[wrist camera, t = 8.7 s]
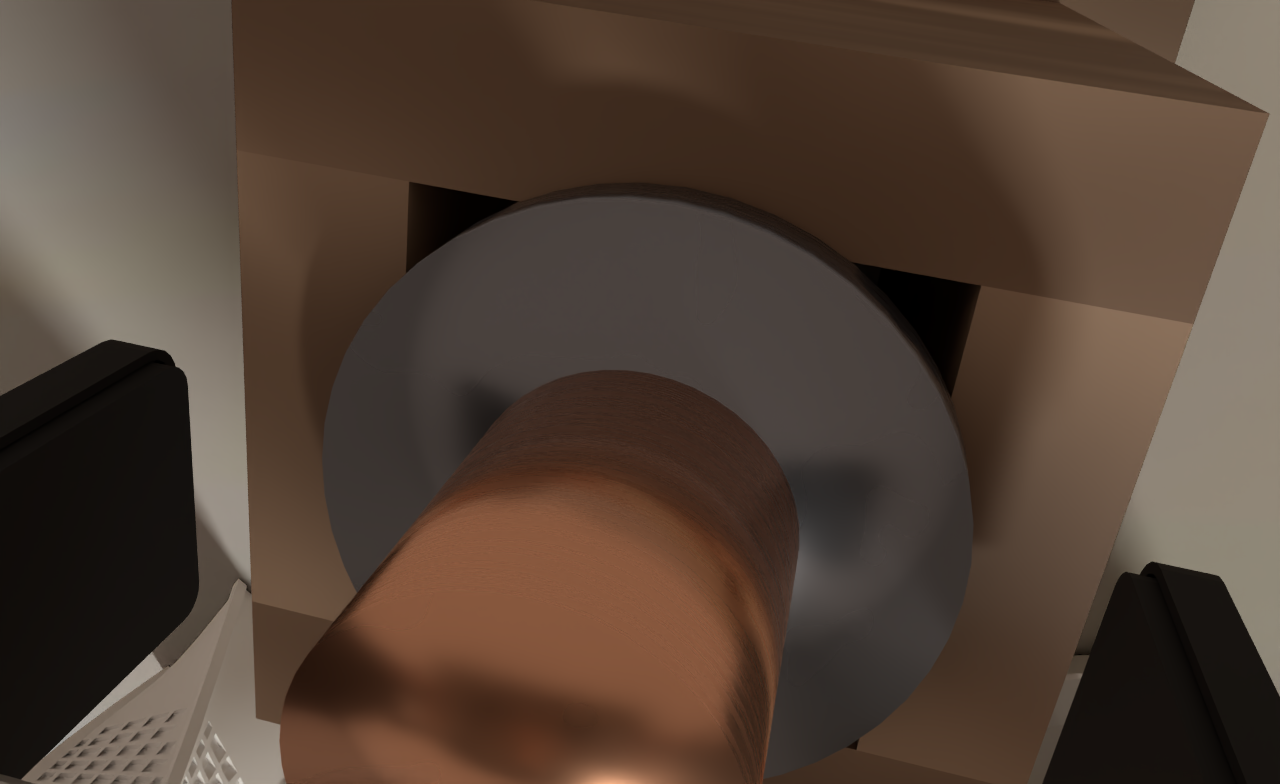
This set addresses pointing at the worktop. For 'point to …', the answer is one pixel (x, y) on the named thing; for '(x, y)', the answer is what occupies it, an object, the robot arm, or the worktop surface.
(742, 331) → the plunger
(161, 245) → the worktop surface
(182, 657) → the skyscraper
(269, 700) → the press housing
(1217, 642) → the robot arm
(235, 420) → the worktop surface
